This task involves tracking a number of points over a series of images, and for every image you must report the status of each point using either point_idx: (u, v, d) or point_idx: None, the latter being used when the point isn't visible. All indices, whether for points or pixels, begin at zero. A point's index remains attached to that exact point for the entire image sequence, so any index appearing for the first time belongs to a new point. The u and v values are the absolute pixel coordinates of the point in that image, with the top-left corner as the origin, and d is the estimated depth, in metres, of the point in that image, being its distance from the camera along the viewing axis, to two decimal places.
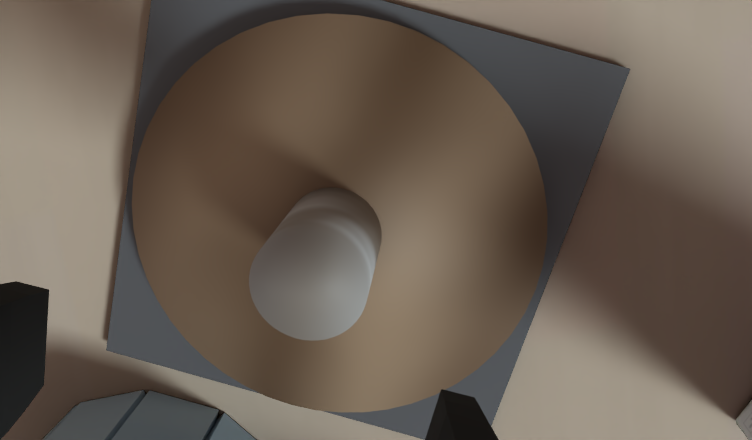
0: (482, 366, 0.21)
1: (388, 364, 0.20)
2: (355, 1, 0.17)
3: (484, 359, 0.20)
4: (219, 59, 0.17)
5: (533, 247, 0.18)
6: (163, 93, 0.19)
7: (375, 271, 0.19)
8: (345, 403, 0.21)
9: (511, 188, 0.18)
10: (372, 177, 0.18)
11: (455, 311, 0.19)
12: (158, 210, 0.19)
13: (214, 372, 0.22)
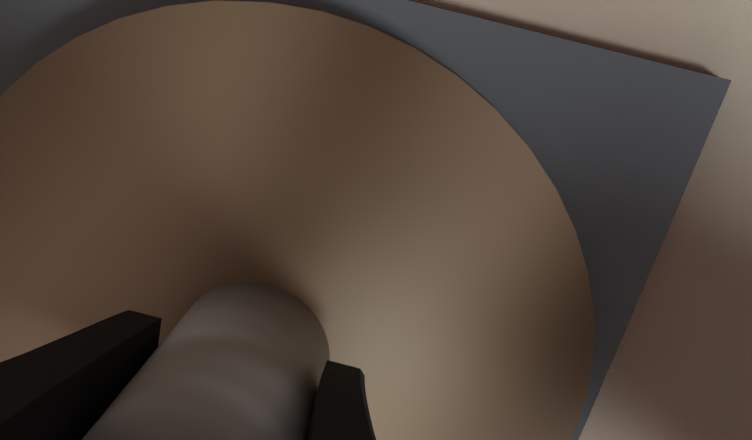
0: None
1: None
2: None
3: None
4: (45, 83, 0.11)
5: (571, 368, 0.11)
6: None
7: None
8: None
9: (534, 279, 0.11)
10: (309, 265, 0.11)
11: None
12: None
13: None
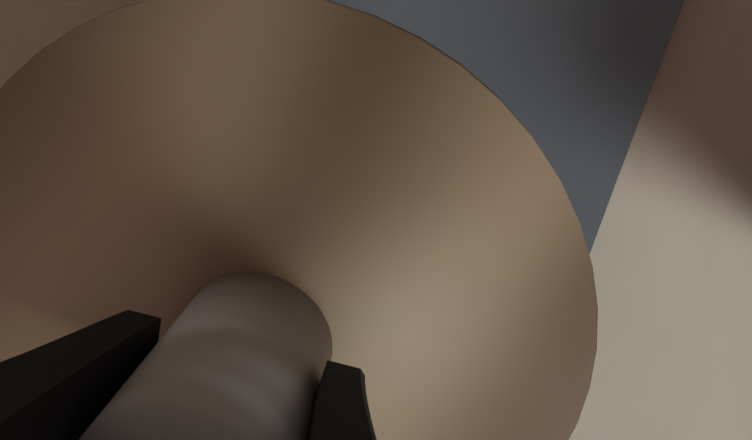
0: None
1: None
2: None
3: None
4: (47, 73, 0.10)
5: (574, 360, 0.11)
6: None
7: None
8: None
9: (538, 272, 0.11)
10: (312, 256, 0.11)
11: None
12: None
13: None
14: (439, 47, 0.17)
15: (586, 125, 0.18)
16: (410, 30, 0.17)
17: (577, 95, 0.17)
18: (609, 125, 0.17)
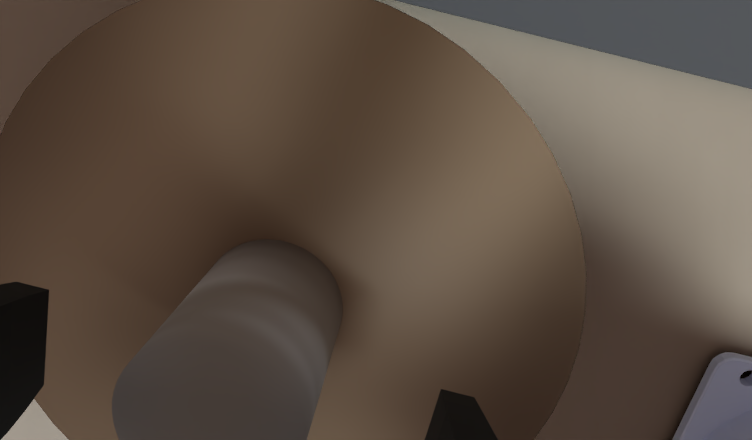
0: None
1: None
2: None
3: None
4: (88, 52, 0.12)
5: (565, 323, 0.12)
6: None
7: (335, 356, 0.13)
8: None
9: (532, 239, 0.12)
10: (325, 224, 0.12)
11: None
12: (20, 273, 0.13)
13: None
14: None
15: None
16: None
17: None
18: None
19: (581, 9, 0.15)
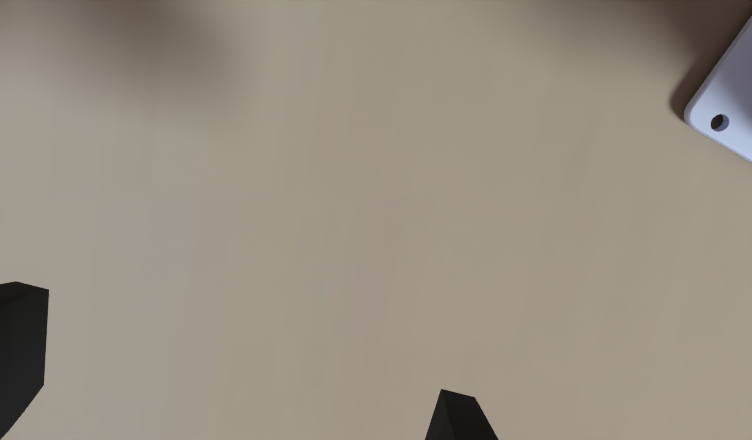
0: None
1: None
2: None
3: None
4: None
5: None
6: None
7: None
8: None
9: None
10: None
11: None
12: None
13: None
14: None
15: None
16: None
17: None
18: None
19: None
